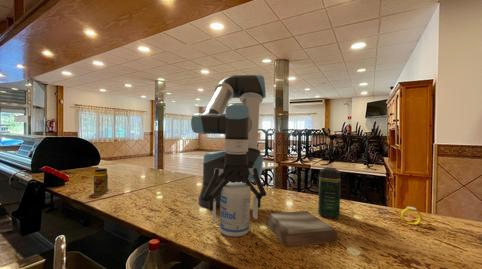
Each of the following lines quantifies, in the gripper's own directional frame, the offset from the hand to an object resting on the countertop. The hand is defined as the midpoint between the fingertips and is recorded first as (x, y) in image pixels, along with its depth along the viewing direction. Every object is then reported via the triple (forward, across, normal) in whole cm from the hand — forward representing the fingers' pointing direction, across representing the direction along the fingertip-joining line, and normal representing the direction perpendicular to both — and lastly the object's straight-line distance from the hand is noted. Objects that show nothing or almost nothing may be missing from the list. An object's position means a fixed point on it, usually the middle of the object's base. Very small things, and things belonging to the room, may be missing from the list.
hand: (234, 219), depth 70 cm
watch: (+4, +64, -7) cm, 65 cm away
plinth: (+4, +20, -5) cm, 21 cm away
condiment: (+4, -57, +58) cm, 81 cm away
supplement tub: (+4, 0, 0) cm, 4 cm away
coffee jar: (+4, +40, +7) cm, 41 cm away
